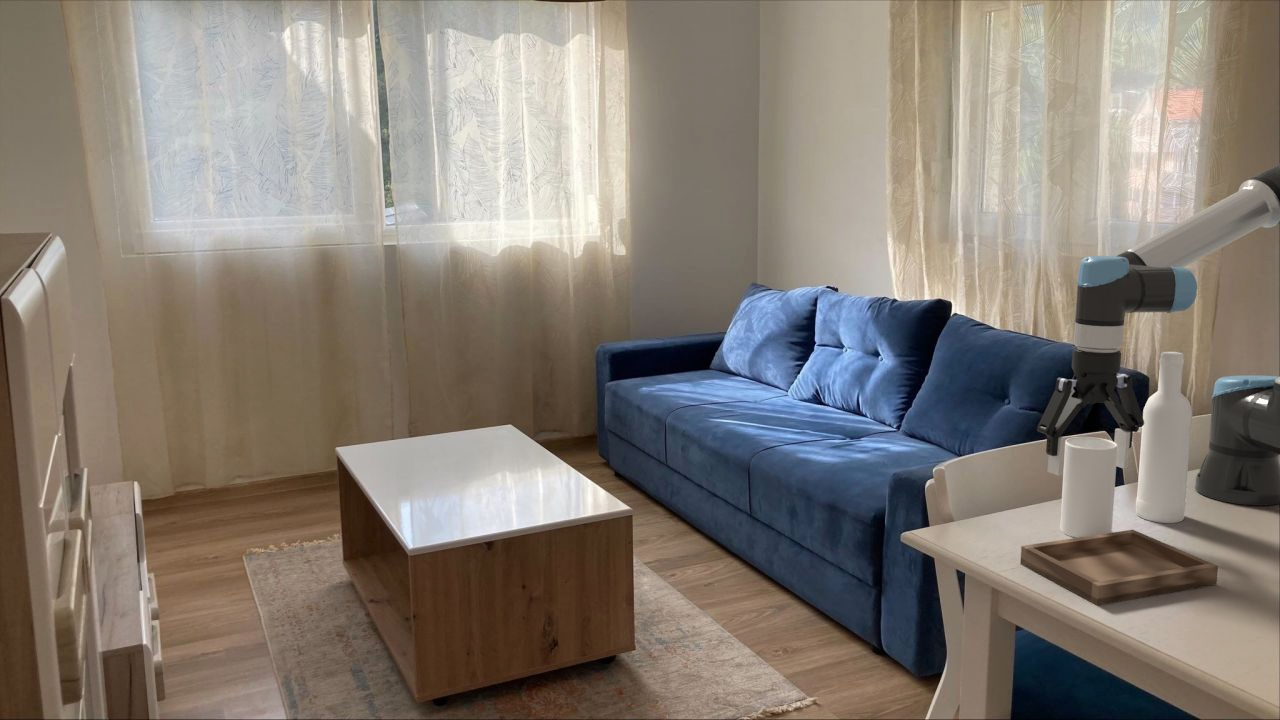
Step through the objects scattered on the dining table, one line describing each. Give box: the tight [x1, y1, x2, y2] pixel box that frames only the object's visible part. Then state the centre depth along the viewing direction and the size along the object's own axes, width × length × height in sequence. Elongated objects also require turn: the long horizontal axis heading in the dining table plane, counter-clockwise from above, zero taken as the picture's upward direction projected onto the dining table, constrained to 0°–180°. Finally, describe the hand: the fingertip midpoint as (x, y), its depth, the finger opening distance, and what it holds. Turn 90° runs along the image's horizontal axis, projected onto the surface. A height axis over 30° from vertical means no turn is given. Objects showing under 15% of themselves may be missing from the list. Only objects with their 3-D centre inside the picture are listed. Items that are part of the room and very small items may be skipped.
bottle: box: [1135, 351, 1193, 524], centre depth 182 cm, size 8×8×30 cm
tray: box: [1020, 529, 1219, 606], centre depth 158 cm, size 22×17×3 cm
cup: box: [1059, 436, 1117, 538], centre depth 176 cm, size 8×8×16 cm
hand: (1087, 470), depth 175 cm, fingers open, 13 cm apart
